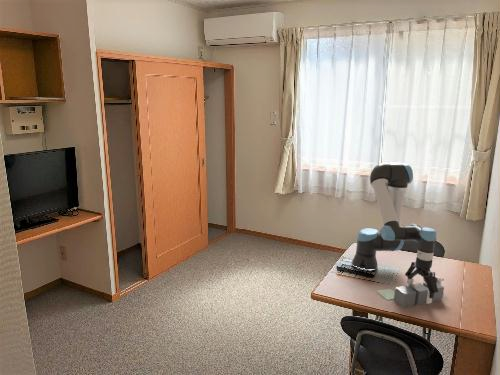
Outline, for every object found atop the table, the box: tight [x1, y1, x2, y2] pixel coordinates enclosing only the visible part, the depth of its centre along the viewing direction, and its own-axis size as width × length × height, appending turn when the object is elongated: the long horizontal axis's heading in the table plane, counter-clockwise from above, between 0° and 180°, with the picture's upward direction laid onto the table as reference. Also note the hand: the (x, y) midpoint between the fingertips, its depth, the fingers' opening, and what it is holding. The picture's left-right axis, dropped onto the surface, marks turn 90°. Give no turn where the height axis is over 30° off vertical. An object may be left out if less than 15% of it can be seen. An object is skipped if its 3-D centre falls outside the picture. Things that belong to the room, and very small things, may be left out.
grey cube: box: [422, 282, 445, 303], centre depth 201 cm, size 7×7×8 cm
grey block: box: [393, 285, 416, 309], centre depth 195 cm, size 7×7×8 cm
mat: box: [376, 288, 395, 301], centre depth 204 cm, size 9×9×1 cm
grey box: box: [409, 282, 429, 306], centre depth 198 cm, size 7×7×8 cm
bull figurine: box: [422, 275, 444, 286], centre depth 212 cm, size 4×13×8 cm, turn 15°
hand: (418, 296), depth 198 cm, fingers open, 13 cm apart
